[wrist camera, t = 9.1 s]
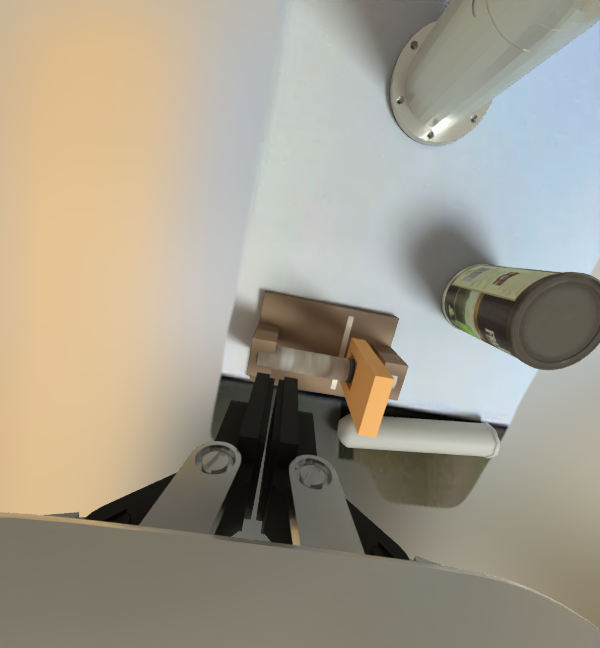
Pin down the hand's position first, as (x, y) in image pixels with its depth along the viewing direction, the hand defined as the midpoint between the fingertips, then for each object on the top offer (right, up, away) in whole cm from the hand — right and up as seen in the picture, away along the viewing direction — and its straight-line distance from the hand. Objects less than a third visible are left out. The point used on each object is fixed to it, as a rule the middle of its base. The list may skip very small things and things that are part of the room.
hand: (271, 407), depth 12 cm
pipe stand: (+5, 0, +32) cm, 32 cm away
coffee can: (+27, +7, +31) cm, 42 cm away
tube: (+20, -14, +37) cm, 44 cm away
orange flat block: (+9, -2, +29) cm, 30 cm away
